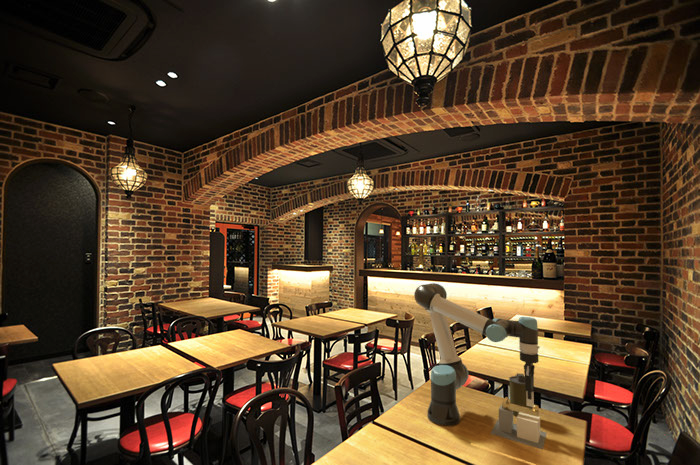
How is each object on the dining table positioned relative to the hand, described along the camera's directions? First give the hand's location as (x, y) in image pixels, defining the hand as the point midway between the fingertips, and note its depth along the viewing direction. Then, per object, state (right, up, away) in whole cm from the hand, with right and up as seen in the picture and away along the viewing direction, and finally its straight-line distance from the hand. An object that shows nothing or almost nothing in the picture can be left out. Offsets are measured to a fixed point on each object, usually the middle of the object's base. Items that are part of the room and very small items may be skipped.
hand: (530, 405), depth 149 cm
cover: (-4, -10, -6) cm, 12 cm away
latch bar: (-6, -1, -3) cm, 7 cm away
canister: (+3, -13, +14) cm, 19 cm away
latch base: (-7, -11, -4) cm, 14 cm away
